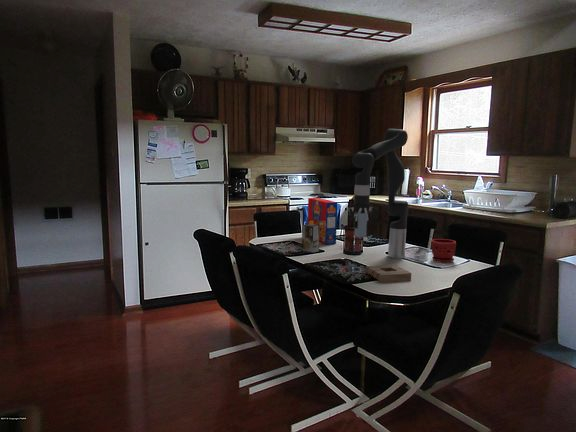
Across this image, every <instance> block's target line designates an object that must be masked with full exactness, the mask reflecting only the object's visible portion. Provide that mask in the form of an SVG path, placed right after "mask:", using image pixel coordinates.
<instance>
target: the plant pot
mask: <svg viewBox="0 0 576 432" xmlns="http://www.w3.org/2000/svg"><path fill="white" fill-rule="evenodd" d="M430 246H431V247H430V248H431V253H432V254H431V255H432V260H433V261H434V262H435V261H436V262H437V263H440V262H441V263H442V264H450V263H452V262H454V261H455V258H454V256H455V255H456V254H455V253H456V249H457V242H456V240H453V239H447V238H446V239H445V238H433V239H431V241H430ZM441 263H440V264H441Z"/></svg>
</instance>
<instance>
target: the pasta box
mask: <svg viewBox="0 0 576 432" xmlns="http://www.w3.org/2000/svg"><path fill="white" fill-rule="evenodd" d="M337 220H338V202H337V201H333V200H330V199H326V198H323V197H322V198H320V197H308V198H307V224H313V225H319V244H321V245H324V246H329V245H330V246H331V245H337V229H338V228H337V226H338V223H337Z"/></svg>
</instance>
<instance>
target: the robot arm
mask: <svg viewBox="0 0 576 432" xmlns="http://www.w3.org/2000/svg"><path fill="white" fill-rule="evenodd" d="M383 136H384V137H383V139H384V141H383V140H382V141H381V142H377V143H375V144H373V145H371V146H370V147H368V148H367V149H363V150H360V151H358V152H356V153H355V154H354V155H353V157H352V159H351V160H352V161H351V162H352V164H353V166H354V167H356V168H361V169H362V171H360V172H357V173H356V174H355V176H354V178H355V179H354V181H355V182H354V193H353V206H352V207H348V208H347V211H348V217H349V219H350V220H352V221H353V228H354V229H355V228H356V229H357V225H358V221H357V220H358V213H367V228H368V226H369V220H372V219H373V216H374V213H375V210H376V209H375V207H372V206H370V199H371V198H370V195H371V188H370V187H371V186H370V182H371V174H372V171H373V168H374V164H375V161H377V160H379V159H380V158H381V157H383V156H384V155H385V156H386V166H387V168H386V169H387V170H386V171H387V174H386V176H387V186H388V188H387V189H388V193H387V194H388V195H387V199H388V200H387V201H388V202H387V208H388V209H387V212H388V215H389V216H391V217H400V219H398V220H396V221H391V222H390V223H389V237H388V239H389V240H388V251H387V254H388V258H392V259H398V260H400V259H405V257H406V241H407V240H406V238H407V224H408V213H409V201H407V200H397V199H396V195H397V193H398V191H399V189H401V187H402V186H403V184H404V182H405V177H406V176H405V167H404V165H403V164H404V163H402V161H401V160H400V158H399V156H398V154H397V152H396V150H397V149H400V148H402V147H404V146H405V145H407V142H408V138H409V136H408V131H406V130H404V129H401V128H400V129H399V128H388V129H386V131H385V132H384V135H383ZM368 211H369V212H368ZM356 213H357V215H356Z"/></svg>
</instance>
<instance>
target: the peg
mask: <svg viewBox="0 0 576 432" xmlns="http://www.w3.org/2000/svg"><path fill="white" fill-rule="evenodd" d="M367 214H368V212H367V213H358V220H357V221H358V225H357V229H356V228H355V227H354V237H356V238H367V228H368V227H367ZM356 215H357V213H356Z"/></svg>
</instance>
